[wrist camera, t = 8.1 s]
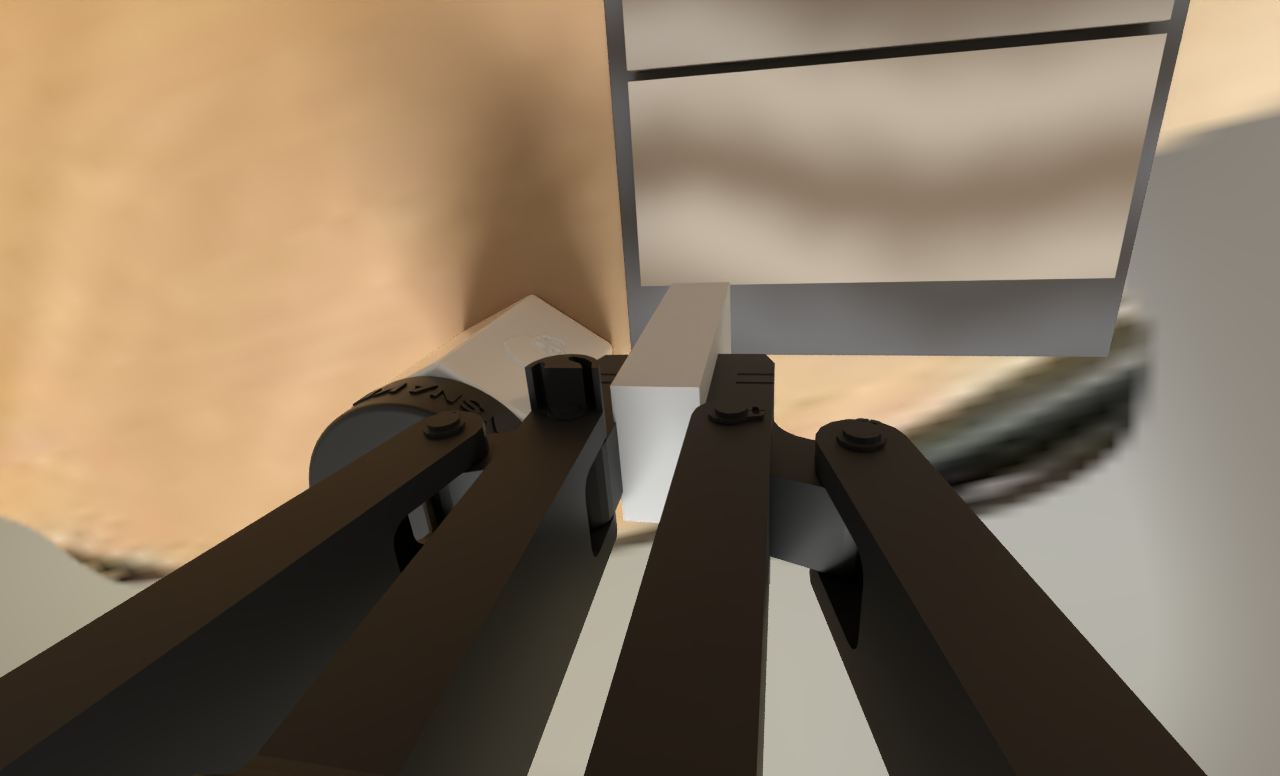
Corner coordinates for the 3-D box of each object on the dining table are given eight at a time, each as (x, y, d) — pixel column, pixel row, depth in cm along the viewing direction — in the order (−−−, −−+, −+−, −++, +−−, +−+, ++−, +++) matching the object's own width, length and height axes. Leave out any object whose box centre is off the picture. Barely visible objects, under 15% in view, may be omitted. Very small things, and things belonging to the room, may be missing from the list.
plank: (634, 83, 25) (627, 81, 24) (1148, 37, 22) (1167, 33, 20) (646, 280, 28) (641, 286, 27) (1100, 271, 24) (1115, 277, 23)
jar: (654, 364, 30) (582, 503, 20) (577, 480, 34) (481, 651, 23) (495, 263, 30) (333, 347, 19) (435, 391, 34) (270, 522, 23)
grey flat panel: (582, -285, 21) (570, -310, 20) (1288, -443, 17) (1328, -487, 16) (632, 352, 30) (626, 362, 29) (1105, 354, 26) (1121, 367, 25)
